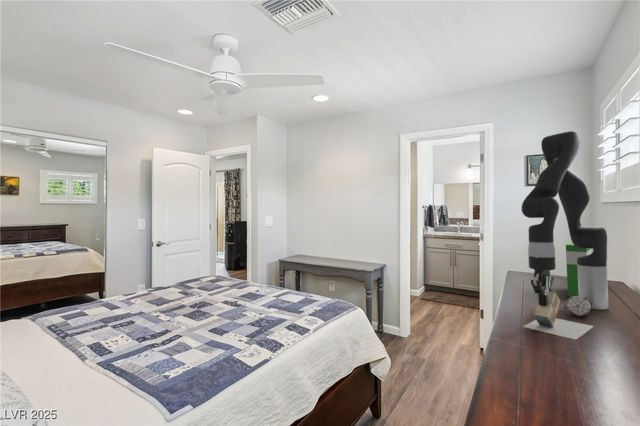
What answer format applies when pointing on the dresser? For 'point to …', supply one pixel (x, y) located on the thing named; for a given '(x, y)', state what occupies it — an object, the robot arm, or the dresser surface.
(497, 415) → the dresser surface
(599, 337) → the dresser surface
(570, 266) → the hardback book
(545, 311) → the maple block
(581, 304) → the game die
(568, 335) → the felt mat
